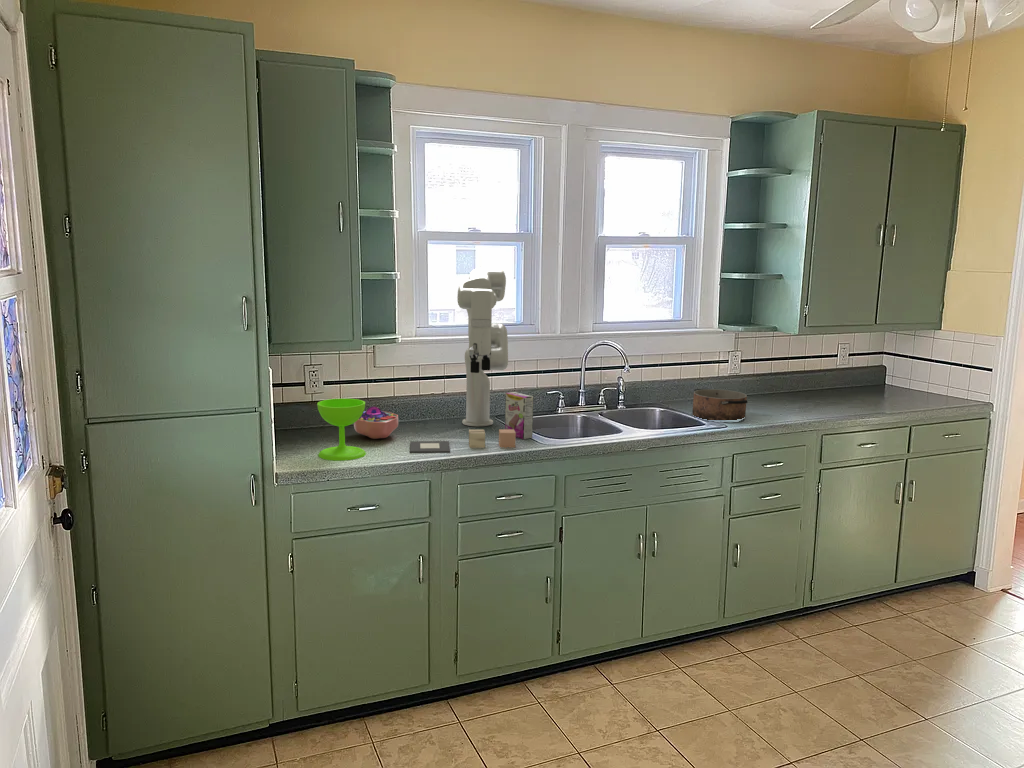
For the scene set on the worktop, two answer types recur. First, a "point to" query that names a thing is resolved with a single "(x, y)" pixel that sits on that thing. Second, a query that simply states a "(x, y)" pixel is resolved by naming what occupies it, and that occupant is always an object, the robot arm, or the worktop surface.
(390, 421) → the cell model
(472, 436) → the birch block
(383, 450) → the worktop surface
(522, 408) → the candy bar box
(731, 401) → the cooking pot
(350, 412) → the wineglass
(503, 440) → the terracotta block
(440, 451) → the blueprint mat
